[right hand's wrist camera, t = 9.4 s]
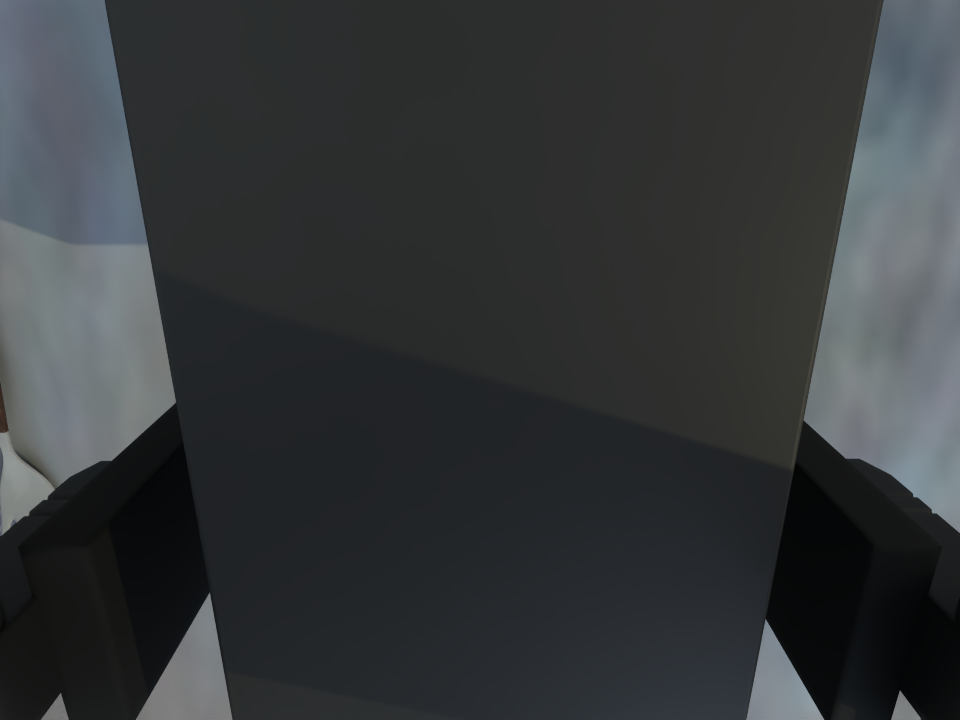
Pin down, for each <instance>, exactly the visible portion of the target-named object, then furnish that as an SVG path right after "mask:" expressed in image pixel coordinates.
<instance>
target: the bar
mask: <svg viewBox="0 0 960 720" xmlns="http://www.w3.org/2000/svg"><path fill="white" fill-rule="evenodd" d="M105 5H106V10H107V16H108V22H109V27H110V33H111V39H112V44H113V50H114V55H115V61H116V67H117V72H118V78H119V84H120V89H121V95H122V100H123V106H124V112H125V117H126V123H127V128H128V134H129V140H130V145H131V151H132V157H133V162H134V168H135V173H136V179H137V185H138V190H139V196H140V202H141V207H142V213H143V218H144V224H145V230H146V235H147V241H148V247H149V252H150V258H151V263H152V269H153V275H154V280H155V286H156V291H157V297H158V303H159V308H160V314H161V320H162V325H163V331H164V336H165V342H166V348H167V353H168V359H169V365H170V370H171V376H172V381H173V387H174V393H175V398H176V404H177V410H178V415H179V421H180V426H181V432H182V438H183V443H184V449H185V454H186V460H187V466H188V471H189V477H190V483H191V488H192V494H193V499H194V505H195V511H196V516H197V522H198V528H199V533H200V539H201V544H202V550H203V556H204V561H205V567H206V573H207V578H208V584H209V589H210V595H211V601H212V606H213V612H214V617H215V623H216V629H217V634H218V640H219V646H220V651H221V657H222V662H223V668H224V674H225V679H226V685H227V691H228V696H229V702H230V707H231V713H232V719H233V720H746V718H747V713H748V708H749V703H750V697H751V692H752V687H753V682H754V676H755V671H756V666H757V661H758V655H759V650H760V645H761V640H762V634H763V629H764V624H765V619H766V613H767V608H768V603H769V598H770V592H771V587H772V582H773V577H774V571H775V566H776V561H777V556H778V550H779V545H780V540H781V535H782V529H783V524H784V519H785V514H786V508H787V503H788V498H789V493H790V488H791V482H792V477H793V472H794V467H795V461H796V456H797V451H798V446H799V440H800V435H801V430H802V425H803V419H804V414H805V409H806V404H807V398H808V393H809V388H810V383H811V377H812V372H813V367H814V362H815V356H816V351H817V346H818V341H819V335H820V330H821V325H822V320H823V314H824V309H825V304H826V299H827V293H828V288H829V283H830V278H831V273H832V267H833V262H834V257H835V252H836V246H837V241H838V236H839V231H840V225H841V220H842V215H843V210H844V204H845V199H846V194H847V189H848V183H849V178H850V173H851V168H852V162H853V157H854V152H855V147H856V141H857V136H858V131H859V126H860V120H861V115H862V110H863V105H864V99H865V94H866V89H867V84H868V78H869V73H870V68H871V63H872V57H873V52H874V47H875V42H876V37H877V31H878V26H879V21H880V16H881V10H882V5H883V0H105Z"/></svg>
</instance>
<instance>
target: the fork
mask: <svg viewBox="0 0 960 720" xmlns="http://www.w3.org/2000/svg"><path fill="white" fill-rule="evenodd" d="M0 447H1V450H2V454H3V470H2V475H1V482H0V506H1V520H2V533H1V535H3V534H4V533H5V532H6V531H7V530H9V529H10V527H11V523H12V521H13V520H15V521H16V523H17V522H18V521H19V520H20V519H21V518H23V517H24V516H29V512H30V511H31V510H32V509H33V508H34V507H35V506H37V505H38V504H39V503H40V502H41V501H42V500H47V499H48V495H50V494H51V493H52V492H53V491H54V490H55V489H54V487H53V486H52V484H51V483H50V482H49V481H48V480H47V479H46V478H45V477H44V476H43V475H42V474H40V473H39V472H38V471H36V470H35V469H34V468H32V467H31V466H30V465H28V464H27V463H26V462H24V461H23V460H22V459H21V458H20V457H19V456H18V455H17V454H16V452H15V451H14V449H13V447H12V444H11V440H10V435H9V430H8V425H7V419H6V413H5V407H4V401H3V395H2V390H1V384H0Z"/></svg>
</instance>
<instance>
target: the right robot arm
mask: <svg viewBox="0 0 960 720" xmlns="http://www.w3.org/2000/svg"><path fill="white" fill-rule="evenodd" d="M209 593H210V589H209V584H208V578H207V573H206V567H205V561H204V556H203V550H202V544H201V539H200V533H199V528H198V522H197V516H196V511H195V505H194V499H193V494H192V488H191V483H190V477H189V471H188V466H187V460H186V454H185V449H184V443H183V438H182V432H181V426H180V421H179V415H178V410H177V404H176V403H175V404H174V405H173V406H172V407H171V408H170V409H169V410H168V411H166V412H165V413H164V414H163V415H162V416H161V417H160V418H159V419H158V420H157V421H155V422H154V423H153V424H152V425H151V426H150V427H149V428H148V429H147V430H145V431H144V432H143V433H142V434H141V435H140V436H139V437H138V438H137V439H136V440H134V441H133V442H132V443H131V444H130V445H129V446H128V447H127V448H126V449H125V450H123V451H122V452H121V453H120V454H119V455H118V456H117V457H116V458H115V459H114V460H112V461H100V462H98V463H96V464H94V465H93V466H91V467H89V468H87V469H85V470H83V471H81V472H79V473H77V474H75V475H73V476H71V477H69V478H68V479H67V480H66V481H65V482H64V483H62V484H61V485H60V486H59V487H58V488H57V489H55V490H54V491H53V492H52V493H51V494H50V495H48V499H47V500H42V501H41V502H40V503H39V504H38V505H37V506H35V507H34V508H33V509H32V510H31V511H30V512H29V516H24V517H23V518H21V519H20V520H19V521H18V522H17V523H16V524H14V525H13V526H12V527H11V528H10V529H9V530H7V531H6V532H5V533H4V534H3V535H1V536H0V720H41V719H42V717H43V716H44V715H45V713H46V712H47V710H48V709H49V708H50V706H51V705H52V704H53V702H54V701H55V700H56V698H57V697H58V696H59V694H60V693H61V694H62V698H63V701H64V705H65V708H66V711H67V715H68V718H69V720H136V718H137V716H138V715H139V713H140V711H141V710H142V708H143V706H144V704H145V703H146V701H147V699H148V697H149V696H150V694H151V692H152V691H153V689H154V687H155V685H156V684H157V682H158V680H159V679H160V677H161V675H162V673H163V672H164V670H165V668H166V667H167V665H168V663H169V661H170V660H171V658H172V656H173V654H174V653H175V651H176V649H177V648H178V646H179V644H180V642H181V641H182V639H183V637H184V636H185V634H186V632H187V630H188V629H189V627H190V625H191V624H192V622H193V620H194V618H195V617H196V615H197V613H198V611H199V610H200V608H201V606H202V605H203V603H204V601H205V599H206V598H207V596H208V594H209ZM766 620H767V622H768V623H769V625H770V627H771V629H772V630H773V632H774V634H775V636H776V637H777V639H778V641H779V642H780V644H781V646H782V648H783V649H784V651H785V653H786V654H787V656H788V658H789V660H790V661H791V663H792V665H793V667H794V668H795V670H796V672H797V673H798V675H799V677H800V679H801V680H802V682H803V684H804V685H805V687H806V689H807V691H808V692H809V694H810V696H811V697H812V699H813V701H814V703H815V704H816V706H817V708H818V710H819V711H820V713H821V715H822V716H823V718H824V720H891V718H892V715H893V711H894V708H895V705H896V701H897V698H898V695H899V691H901V692H902V693H903V695H904V696H905V697H906V699H907V700H908V701H909V703H910V704H911V705H912V707H913V708H914V710H915V711H916V712H917V714H918V715H919V716H920V718H921V720H960V533H959V532H958V531H956V530H955V529H954V528H953V527H952V526H951V525H949V524H948V523H947V522H946V521H945V520H943V519H942V518H941V517H940V516H939V515H938V514H932V509H930V508H929V507H928V506H927V505H926V504H925V503H923V502H922V501H921V500H920V499H919V498H917V497H913V493H912V492H910V491H909V490H908V489H907V488H906V487H904V486H903V485H902V484H901V483H900V482H899V481H897V480H896V479H895V478H894V477H893V476H892V475H890V474H888V473H886V472H884V471H882V470H880V469H878V468H876V467H874V466H872V465H870V464H868V463H867V462H865V461H863V460H861V459H845V458H844V457H843V456H842V455H841V454H840V453H839V452H838V451H837V450H835V449H834V448H833V447H832V446H831V445H830V444H829V443H828V442H827V441H826V440H824V439H823V438H822V437H821V436H820V435H819V434H818V433H817V432H816V431H815V430H813V429H812V428H811V427H810V426H809V425H808V424H807V423H806V422H805V421H803V425H802V430H801V435H800V440H799V446H798V451H797V456H796V461H795V467H794V472H793V477H792V482H791V488H790V493H789V498H788V503H787V508H786V514H785V519H784V524H783V529H782V535H781V540H780V545H779V550H778V556H777V561H776V566H775V571H774V577H773V582H772V587H771V592H770V598H769V603H768V608H767V613H766Z"/></svg>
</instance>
